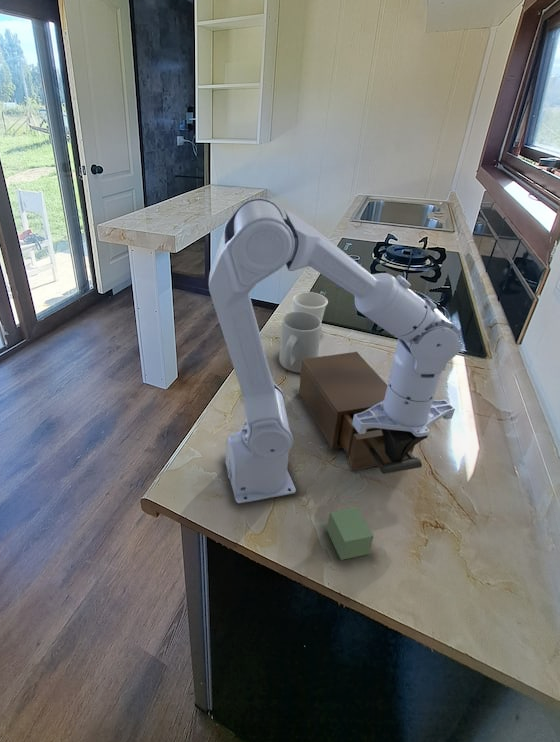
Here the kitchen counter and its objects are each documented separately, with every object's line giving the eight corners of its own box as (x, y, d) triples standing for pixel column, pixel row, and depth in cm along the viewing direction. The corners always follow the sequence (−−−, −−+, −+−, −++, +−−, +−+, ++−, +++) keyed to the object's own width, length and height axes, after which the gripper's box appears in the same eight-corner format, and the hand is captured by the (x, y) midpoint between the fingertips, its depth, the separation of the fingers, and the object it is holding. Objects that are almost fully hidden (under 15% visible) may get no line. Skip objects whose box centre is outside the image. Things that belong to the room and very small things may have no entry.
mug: (287, 346, 94) (290, 307, 89) (321, 357, 89) (327, 316, 85) (267, 374, 85) (269, 332, 80) (304, 387, 80) (309, 343, 76)
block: (340, 560, 50) (344, 541, 48) (326, 530, 54) (329, 512, 52) (368, 554, 51) (373, 535, 49) (353, 525, 54) (357, 506, 53)
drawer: (428, 483, 59) (439, 451, 56) (366, 495, 57) (373, 463, 54) (365, 402, 75) (370, 374, 72) (314, 410, 73) (318, 382, 70)
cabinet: (393, 439, 68) (403, 401, 64) (332, 449, 66) (338, 412, 62) (350, 385, 81) (356, 351, 77) (298, 392, 79) (302, 358, 75)
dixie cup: (288, 339, 96) (291, 305, 92) (291, 323, 104) (294, 290, 99) (323, 344, 94) (327, 309, 90) (323, 327, 101) (328, 293, 97)
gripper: (379, 416, 48) (363, 488, 54) (481, 399, 50) (455, 471, 56) (350, 380, 54) (338, 448, 60) (442, 366, 56) (421, 434, 62)
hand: (392, 456), depth 59 cm, fingers closed, pressing on drawer
